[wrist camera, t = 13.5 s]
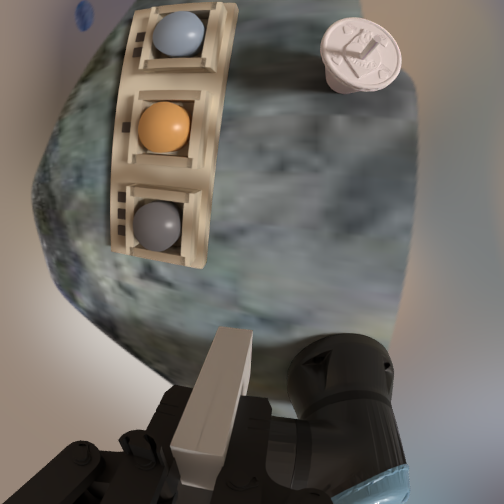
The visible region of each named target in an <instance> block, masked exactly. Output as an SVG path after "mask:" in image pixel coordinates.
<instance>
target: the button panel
mask: <svg viewBox="0 0 504 504" xmlns="http://www.w3.org/2000/svg"><path fill="white" fill-rule="evenodd" d="M177 11H188V12H191V13H193V14H195V15H196V16H197V17H198V18H199V19H200V20H201V22H202V23H203V24H204V25H205V27H206V28H207V30H206V35H205V40H204V46H203V49H202V50H201V51H200V52H199V53H198V54H197V55H195V56H193V57H191V58H170V57H169V56H167V55H166V54H164V53H163V52H161V51H159V50H158V49H157V48H156V47H155V45H154V43H153V32H154V29H155V27H156V26H157V24H158V23H159V22H160V21H161V20H162V19H163V18H164V17H165V16H167V15H169V14H171V13H174V12H177ZM238 12H239V10H238V7H237V5H236V3H222V2H203V3H187V4H175V5H166V6H158V7H152V8H150V9H144V10H138V11H135V13H134V17H133V21H132V25H131V29H130V34H129V38H128V43H127V47H126V52H125V57H124V63H123V68H122V74H121V80H120V86H119V93H118V100H117V108H116V117H115V126H114V137H113V149H112V166H111V194H110V226H111V251H112V252H117V253H122V254H127V255H132V256H137V257H142V258H147V259H152V260H157V261H162V262H167V263H172V264H178V265H183V266H188V267H194V268H199V269H202V268H203V267H204V265H205V264H206V263H207V251H208V239H209V227H210V217H211V206H212V196H213V187H214V177H215V168H216V160H217V151H218V143H219V135H220V127H221V119H222V112H223V105H224V98H225V91H226V84H227V77H228V71H229V64H230V58H231V52H232V46H233V40H234V34H235V28H236V23H237V17H238ZM158 102H170V103H173V104H176V105H179V106H182V107H184V108H185V109H187V110H188V111H189V112H190V114H191V115H192V117H193V118H192V126H191V134H190V141H189V143H188V144H187V145H186V146H185V147H183V148H182V149H180V150H178V151H175V152H165V153H156V152H152V151H150V150H148V149H147V148H146V147H145V146H144V145H143V144H142V142H141V140H140V138H139V134H138V125H139V121H140V118H141V116H142V114H143V113H144V112H145V110H146V109H147V108H149V107H150V106H151V105H153V104H155V103H158ZM158 199H159V200H167V201H172V202H174V203H175V204H177V205H178V206H179V208H180V209H181V210H182V212H183V224H182V236H181V237H180V238H179V239H178V240H177V241H176V242H175V243H174V244H173V245H172V246H170V247H169V248H168V249H166V250H164V251H160V252H155V251H151V250H148V249H146V248H145V247H143V246H142V245H141V244H140V243H139V242H138V240H137V239H136V237H135V234H134V231H133V219H134V216H135V214H136V212H137V211H138V210H139V209H140V208H141V207H142V206H144V205H146V204H148V203H151V202H153V201H155V200H158Z"/></svg>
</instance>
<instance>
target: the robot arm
mask: <svg viewBox="0 0 504 504" xmlns="http://www.w3.org/2000/svg"><path fill="white" fill-rule="evenodd" d="M252 335H253V330H246V329H237V328H229V327H221V326H219V328H218V330H217V332H216V335H215V337H214V340H213V342H212V345H211V347H210V349H209V352H208V354H207V357H206V359H205V361H204V364H203V366H202V369H201V371H200V374H199V376H198V378H197V381H196V383H195V386H194V388H188V387H183V386H178V385H174V386H172V387H171V388H170V389H169V390H168V391H166V392H165V393H164V395H163V397H162V400H161V401H160V405H158V407H157V409H156V412H155V413H154V415H153V417H152V419H151V421H150V423H149V425H148V427H147V429H146V430H133V431H129V432H127V433H125V434H123V435H122V436H121V437H120V439H119V442H120V445H121V447H122V449H123V452H111V451H100V450H98V448H97V447H96V446H95V445H94V444H92V443H90V442H88V441H81V440H80V441H76V442H73V443H71V444H70V445H68V446H67V447H66V448H65V449H64V450H62V451H61V452H60V453H59V454H58V455H57V456H56V457H55V458H54V459H52V460H51V461H50V462H49V463H48V464H47V465H46V466H45V467H44V468H42V469H41V470H40V471H39V472H38V473H37V474H36V475H35V476H33V477H32V478H31V479H30V480H29V481H28V482H27V483H25V484H24V485H23V486H22V487H21V488H20V489H19V490H18V491H16V492H15V493H14V494H13V495H12V496H11V497H10V498H8V499H7V500H6V501H5V502H4V503H3V504H405V503H406V502H407V500H408V498H409V496H410V481H409V473H408V471H409V466H408V464H407V463H406V459H405V455H404V451H403V446H402V443H401V439H400V435H399V431H398V427H397V424H396V420H395V416H394V413H393V409H392V405H391V398H392V389H393V380H394V369H393V364H392V361H391V359H390V356H389V354H388V352H387V350H386V349H385V347H384V346H383V345H382V344H380V343H379V342H378V341H376V340H374V339H372V338H370V337H367V336H363V335H357V334H341V335H335V336H330V337H327V338H324V339H321V340H319V341H316V342H314V343H313V344H311V345H309V346H308V347H306V348H305V349H303V350H302V351H301V352H300V353H299V354H298V355H297V356H296V357H295V359H294V360H293V361H292V363H291V365H290V367H289V371H288V378H287V391H288V395H289V398H290V400H291V403H292V405H293V408H294V410H295V412H296V415H297V417H298V419H292V418H284V417H277V416H271V414H272V408H271V405H270V403H269V401H268V398H261V397H252V396H246V393H247V388H248V384H249V379H250V369H251V352H252Z"/></svg>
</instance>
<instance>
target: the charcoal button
mask: <svg viewBox="0 0 504 504" xmlns="http://www.w3.org/2000/svg"><path fill="white" fill-rule="evenodd" d="M182 224H183V212H182V210H181V209H180V208H179V206H178V205H177V204H175V203H174V202H172V201H167V200H159V199H158V200H155V201H153V202H151V203H148V204H146V205H144V206H142V207H141V208H140V209H139V210H138V211H137V212H136V214H135V216H134V219H133V231H134V234H135V237H136V239H137V240H138V242H139V243H140V244H141V245H142V246H143V247H145V248H146V249H148V250H151V251H155V252H160V251H164V250H166V249H168V248H169V247H170V246H172V245H173V244H174V243H175V242H176V241H177V240H178V239H179V238H180V237H181V236H182Z"/></svg>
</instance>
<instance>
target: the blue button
mask: <svg viewBox="0 0 504 504" xmlns="http://www.w3.org/2000/svg"><path fill="white" fill-rule="evenodd" d="M206 30H207V28H206V27H205V25H204V24H203V23H202V22H201V20H200V19H199V18H198V17H197V16H196V15H195V14H193V13H191V12H188V11H177V12H174V13H171V14H169V15H167V16H165V17H164V18H163V19H162V20H161V21H160V22H159V23H158V24H157V26H156V27H155V29H154V32H153V43H154V45H155V47H156V48H157V49H158V50H159V51H161V52H163V53H164V54H166V55H167V56H169V57H170V58H191V57H193V56H195V55H197V54H198V53H199V52H200V51H201V50H202V49H203V46H204V40H205V35H206Z"/></svg>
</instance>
